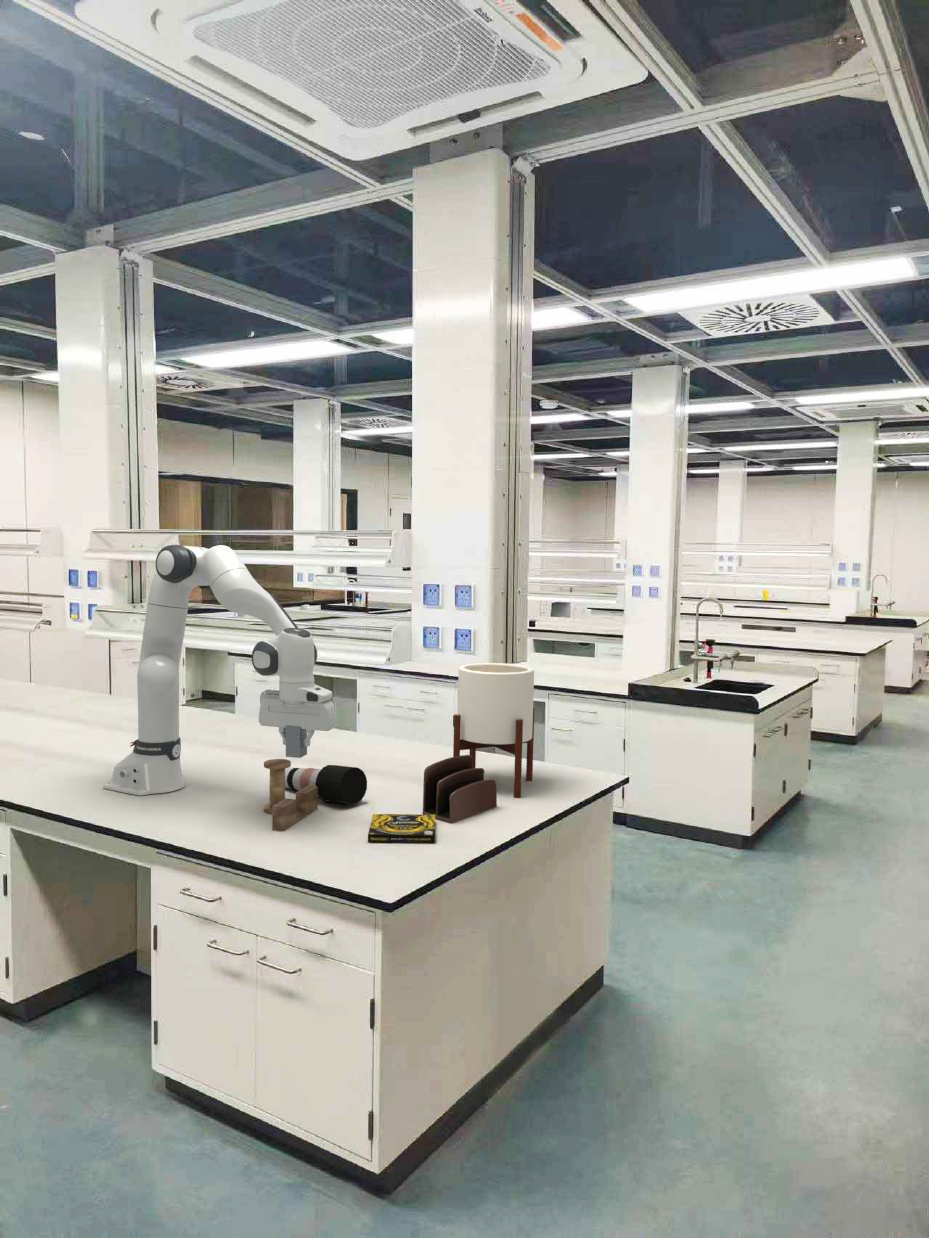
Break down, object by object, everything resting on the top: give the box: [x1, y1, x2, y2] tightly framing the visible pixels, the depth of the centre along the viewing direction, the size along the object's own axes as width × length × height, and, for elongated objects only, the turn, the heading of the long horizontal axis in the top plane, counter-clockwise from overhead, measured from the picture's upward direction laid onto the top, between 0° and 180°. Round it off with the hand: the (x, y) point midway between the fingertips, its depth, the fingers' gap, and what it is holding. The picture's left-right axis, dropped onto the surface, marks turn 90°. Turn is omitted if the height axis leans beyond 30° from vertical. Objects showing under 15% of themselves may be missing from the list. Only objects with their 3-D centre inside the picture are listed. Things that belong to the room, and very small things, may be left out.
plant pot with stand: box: [452, 662, 535, 799], centre depth 252 cm, size 22×22×36 cm
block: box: [285, 726, 308, 759], centre depth 216 cm, size 4×4×8 cm
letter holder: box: [422, 754, 498, 824], centre depth 227 cm, size 10×20×14 cm, turn 141°
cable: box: [285, 764, 368, 806], centre depth 239 cm, size 10×34×10 cm, turn 51°
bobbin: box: [263, 758, 292, 815], centre depth 224 cm, size 7×7×13 cm
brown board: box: [271, 786, 319, 832], centre depth 217 cm, size 3×20×6 cm, turn 164°
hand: (296, 745), depth 216 cm, fingers closed on block, 4 cm apart
